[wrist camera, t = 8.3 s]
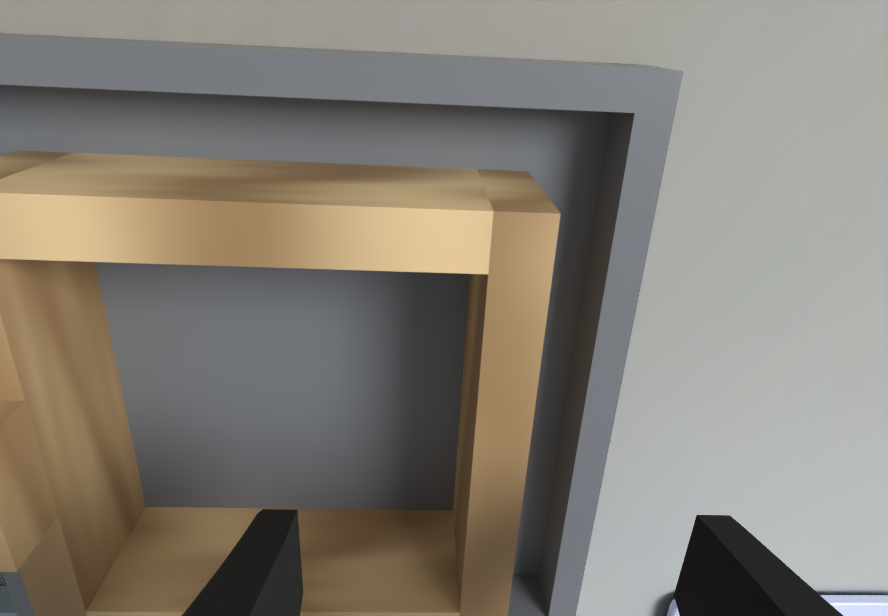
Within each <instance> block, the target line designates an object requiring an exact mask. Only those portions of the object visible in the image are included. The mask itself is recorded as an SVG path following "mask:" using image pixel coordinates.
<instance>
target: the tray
mask: <svg viewBox="0 0 888 616" xmlns="http://www.w3.org/2000/svg"><path fill="white" fill-rule="evenodd" d="M682 74H683V71H677V70H671V69H665V68H659V67H653V66H648V65H634V64H614V63H593V62H573V61H553V60H532V59H512V58H491V57H471V56H451V55H430V54H410V53H389V52H369V51H349V50H328V49H308V48H287V47H267V46H247V45H226V44H206V43H185V42H165V41H145V40H124V39H104V38H83V37H63V36H43V35H22V34H2V33H0V155H4V154H7V153H10V152H13V151H17V150H18V151H42V152H67V153H91V154H116V155H140V156H165V157H189V158H214V159H239V160H263V161H288V162H312V163H337V164H361V165H386V166H410V167H435V168H460V169H484V170H509V171H529V172H530V174H531V175H532V176H533V178H534V179H535V180H536V182H537V183H538V184H539V186H540V187H541V188H542V190H543V191H544V192H545V194H546V195H547V196H548V198H549V199H550V200H551V202H552V203H553V204H554V206H555V207H556V208H557V210H558V211H559V212H560V214H561V215H560V222H559V230H558V237H557V245H556V253H555V260H554V268H553V275H552V283H551V291H550V298H549V306H548V313H547V321H546V328H545V336H544V344H543V351H542V359H541V366H540V374H539V381H538V389H537V397H536V404H535V412H534V419H533V427H532V434H531V442H530V450H529V457H528V465H527V472H526V480H525V487H524V495H523V503H522V510H521V518H520V525H519V533H518V540H517V548H516V556H515V563H514V571H513V578H512V586H511V593H510V601H509V609H508V616H575V615H576V610H577V605H578V600H579V595H580V590H581V585H582V580H583V575H584V570H585V565H586V560H587V554H588V549H589V544H590V539H591V534H592V529H593V524H594V519H595V514H596V509H597V504H598V499H599V494H600V489H601V484H602V479H603V474H604V469H605V463H606V458H607V453H608V448H609V443H610V438H611V433H612V428H613V423H614V418H615V413H616V408H617V403H618V398H619V393H620V388H621V383H622V378H623V372H624V367H625V362H626V357H627V352H628V347H629V342H630V337H631V332H632V327H633V322H634V317H635V312H636V307H637V302H638V297H639V292H640V287H641V282H642V276H643V271H644V266H645V261H646V256H647V251H648V246H649V241H650V236H651V231H652V226H653V221H654V216H655V211H656V206H657V201H658V196H659V191H660V185H661V180H662V175H663V170H664V165H665V160H666V155H667V150H668V145H669V140H670V135H671V130H672V125H673V120H674V115H675V110H676V105H677V100H678V94H679V89H680V84H681V79H682ZM95 263H96V268H97V273H98V278H99V283H100V287H101V292H102V297H103V302H104V307H105V312H106V317H107V321H108V326H109V331H110V336H111V341H112V346H113V351H114V355H115V360H116V365H117V370H118V375H119V380H120V385H121V389H122V394H123V399H124V404H125V409H126V414H127V419H128V423H129V428H130V433H131V438H132V443H133V448H134V453H135V457H136V462H137V467H138V472H139V477H140V482H141V487H142V491H143V496H144V501H145V506H146V507H203V508H290V509H377V510H453V503H454V489H455V475H456V460H457V446H458V432H459V418H460V403H461V389H462V375H463V361H464V347H465V332H466V318H467V304H468V290H469V275H470V274H460V273H429V272H397V271H366V270H334V269H303V268H271V267H240V266H208V265H177V264H145V263H114V262H95ZM2 575H3V577H4V580H5V583H6V586H7V589H8V591H9V594H10V597H11V600H12V602H13V605H14V608H15V611H16V614H17V616H35V613H34V610H33V607H32V604H31V601H30V599H29V596H28V593H27V590H26V587H25V584H24V581H23V578H22V575H21V572H20V569H19V570H18V571H17V572H2Z"/></svg>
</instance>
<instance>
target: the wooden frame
mask: <svg viewBox="0 0 888 616" xmlns="http://www.w3.org/2000/svg"><path fill="white" fill-rule="evenodd" d="M560 215H561V214H560V212H559V211H558V210H557V208H556V207H555V206H554V204H553V203H552V202H551V200H550V199H549V198H548V196H547V195H546V194H545V192H544V191H543V190H542V188H541V187H540V186H539V184H538V183H537V182H536V180H535V179H534V178H533V176H532V175H531V174H530V172H529V171H509V170H484V169H460V168H435V167H410V166H386V165H361V164H337V163H312V162H288V161H263V160H239V159H214V158H189V157H165V156H140V155H116V154H91V153H67V152H42V151H18V150H17V151H13V152H10V153H7V154H4V155H0V572H17V571H18V570H19V569H20V572H21V575H22V578H23V581H24V584H25V587H26V590H27V593H28V596H29V599H30V601H31V604H32V607H33V610H34V613H35V616H182V615H183V613H184V612H185V611H186V610H187V608H188V607H189V606H190V605H191V603H192V602H193V601H194V600H195V598H196V597H197V596H198V594H199V593H200V592H201V591H202V589H203V588H204V587H205V586H206V584H207V583H208V582H209V580H210V579H211V578H212V577H213V575H214V574H215V573H216V571H217V570H218V569H219V567H220V566H221V565H222V563H223V562H224V560H225V559H226V558H227V556H228V555H229V554H230V552H231V551H232V550H233V548H234V547H235V545H236V544H237V542H238V541H239V540H240V538H241V537H242V535H243V534H244V532H245V531H246V529H247V528H248V527H249V525H250V524H251V522H252V521H253V519H254V517H255V516H256V514H257V513H259V512H260V511H261V510H262V509H290V508H203V507H146V506H145V501H144V496H143V491H142V487H141V482H140V477H139V472H138V467H137V462H136V457H135V453H134V448H133V443H132V438H131V433H130V428H129V423H128V419H127V414H126V409H125V404H124V399H123V394H122V389H121V385H120V380H119V375H118V370H117V365H116V360H115V355H114V351H113V346H112V341H111V336H110V331H109V326H108V321H107V317H106V312H105V307H104V302H103V297H102V292H101V287H100V283H99V278H98V273H97V268H96V263H95V262H114V263H145V264H177V265H208V266H240V267H271V268H303V269H334V270H366V271H397V272H429V273H460V274H470V275H469V290H468V304H467V318H466V332H465V347H464V361H463V375H462V389H461V403H460V418H459V432H458V446H457V460H456V475H455V489H454V503H453V510H377V509H291V510H298V523H299V538H300V552H301V567H302V581H303V598H302V605H301V611H300V616H508V609H509V601H510V593H511V586H512V578H513V571H514V563H515V556H516V548H517V540H518V533H519V525H520V518H521V510H522V503H523V495H524V487H525V480H526V472H527V465H528V457H529V450H530V442H531V434H532V427H533V419H534V412H535V404H536V397H537V389H538V381H539V374H540V366H541V359H542V351H543V344H544V336H545V328H546V321H547V313H548V306H549V298H550V291H551V283H552V275H553V268H554V260H555V253H556V245H557V237H558V230H559V222H560Z"/></svg>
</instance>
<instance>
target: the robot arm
mask: <svg viewBox="0 0 888 616" xmlns="http://www.w3.org/2000/svg"><path fill="white" fill-rule="evenodd" d="M302 598H303V581H302V567H301V552H300V538H299V523H298V510H291V509H262V510H261V511H260V512H259V513H257V514H256V516H255V517H254V519H253V521H252V522H251V524H250V525H249V527H248V528H247V529H246V531H245V532H244V534H243V535H242V537H241V538H240V540H239V541H238V542H237V544H236V545H235V547H234V548H233V550H232V551H231V552H230V554H229V555H228V556H227V558H226V559H225V560H224V562H223V563H222V565H221V566H220V567H219V569H218V570H217V571H216V573H215V574H214V575H213V577H212V578H211V579H210V580H209V582H208V583H207V584H206V586H205V587H204V588H203V589H202V591H201V592H200V593H199V594H198V596H197V597H196V598H195V600H194V601H193V602H192V603H191V605H190V606H189V607H188V608H187V610H186V611H185V612H184V613H183V615H182V616H300V611H301V605H302ZM674 598H675V599H674V600H672V602H671V604H670V606H669V610H668V613H667V616H888V595H819V594H818V593H817V592H816V591H815V590H813V589H812V588H811V587H810V586H809V585H808V584H807V583H805V582H804V581H803V580H802V579H801V578H800V577H799V576H798V575H796V574H795V573H794V572H793V571H792V570H791V569H790V568H789V567H787V566H786V565H785V564H784V563H783V562H782V561H781V560H780V559H779V558H777V557H776V556H775V555H774V554H773V553H772V552H771V551H770V550H769V549H767V548H766V547H765V546H764V545H763V544H762V543H761V542H760V541H758V540H757V539H756V538H755V537H754V536H753V535H752V534H751V533H749V532H748V531H747V530H746V529H745V528H744V527H743V526H741V525H740V524H739V523H738V522H737V521H735V520H734V519H733V518H732V517H731V516H725V515H697V516H696V520H695V523H694V527H693V530H692V534H691V537H690V541H689V544H688V548H687V551H686V555H685V558H684V562H683V565H682V569H681V572H680V576H679V579H678V583H677V586H676V590H675V593H674Z"/></svg>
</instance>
